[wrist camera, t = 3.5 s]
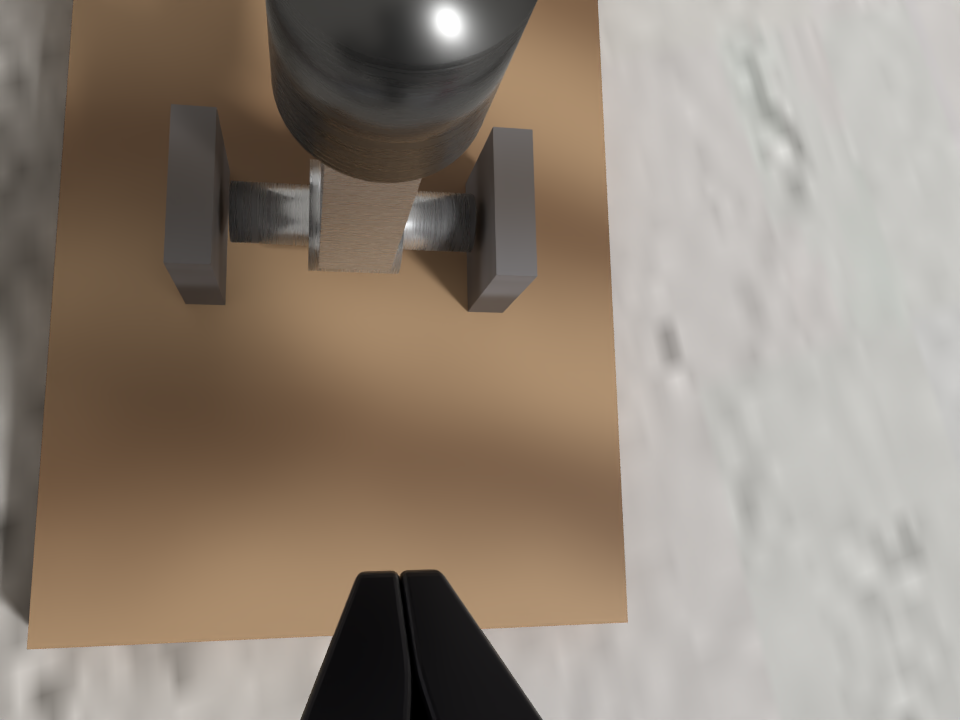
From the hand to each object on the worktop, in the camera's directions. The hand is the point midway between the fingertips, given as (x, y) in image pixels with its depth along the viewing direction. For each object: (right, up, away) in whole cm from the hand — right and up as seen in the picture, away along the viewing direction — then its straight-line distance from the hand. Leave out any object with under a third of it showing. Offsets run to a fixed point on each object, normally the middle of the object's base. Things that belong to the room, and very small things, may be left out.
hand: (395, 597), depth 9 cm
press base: (-2, +6, +12) cm, 13 cm away
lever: (-2, +6, +10) cm, 12 cm away
